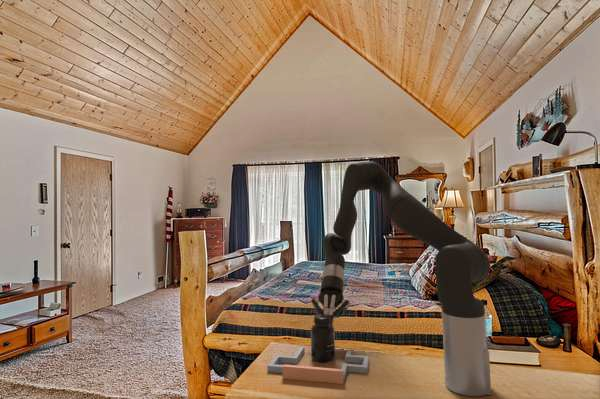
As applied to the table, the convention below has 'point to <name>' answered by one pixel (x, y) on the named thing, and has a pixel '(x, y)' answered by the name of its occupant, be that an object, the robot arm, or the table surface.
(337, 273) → the robot arm
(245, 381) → the table surface
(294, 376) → the grey zigzag frame
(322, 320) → the supplement bottle
